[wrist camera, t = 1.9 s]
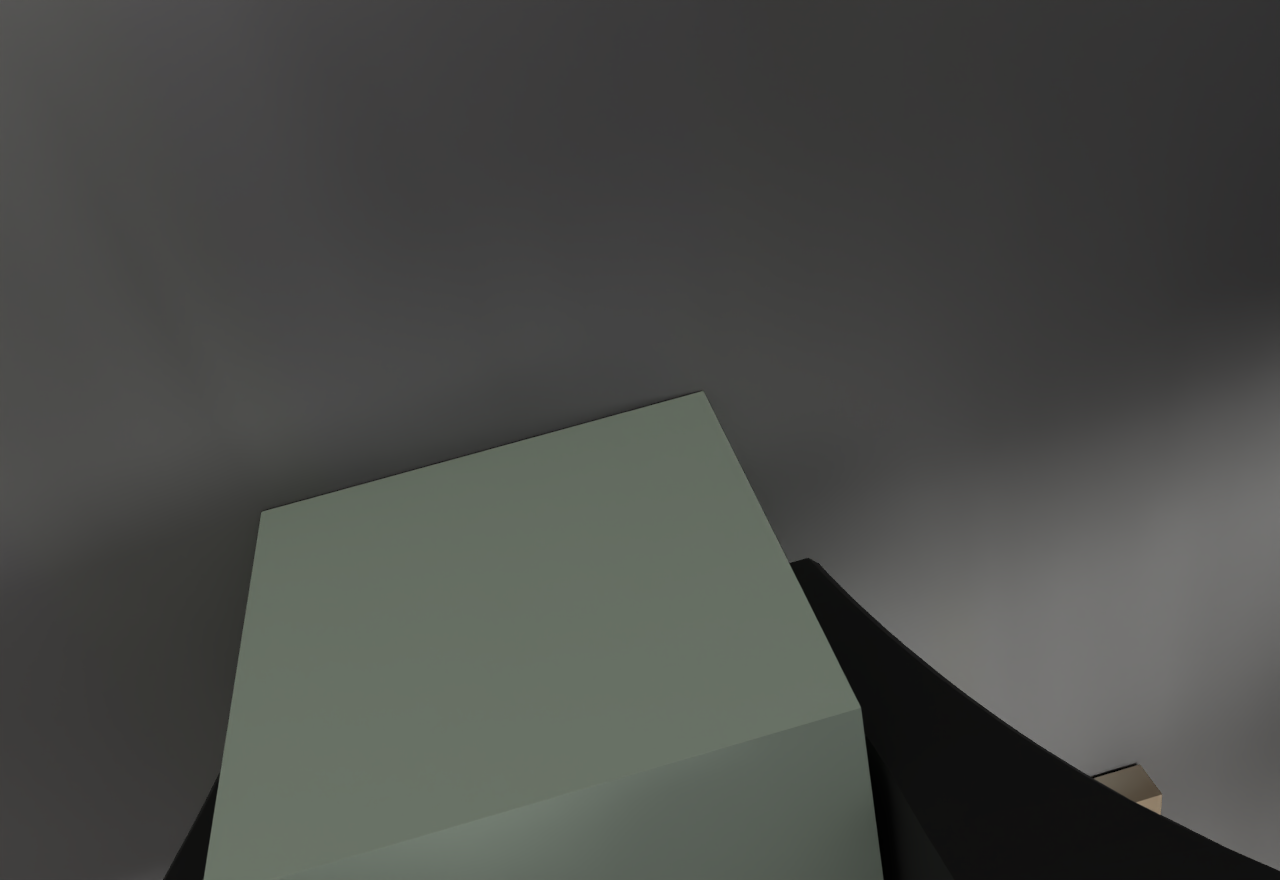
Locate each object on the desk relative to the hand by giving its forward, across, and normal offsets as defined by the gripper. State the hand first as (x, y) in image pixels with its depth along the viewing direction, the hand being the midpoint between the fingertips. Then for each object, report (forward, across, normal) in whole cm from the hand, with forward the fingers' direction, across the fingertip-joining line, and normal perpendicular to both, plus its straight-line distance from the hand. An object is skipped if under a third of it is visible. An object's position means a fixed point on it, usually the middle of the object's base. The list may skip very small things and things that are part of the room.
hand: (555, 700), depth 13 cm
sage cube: (+1, 0, 0) cm, 1 cm away
